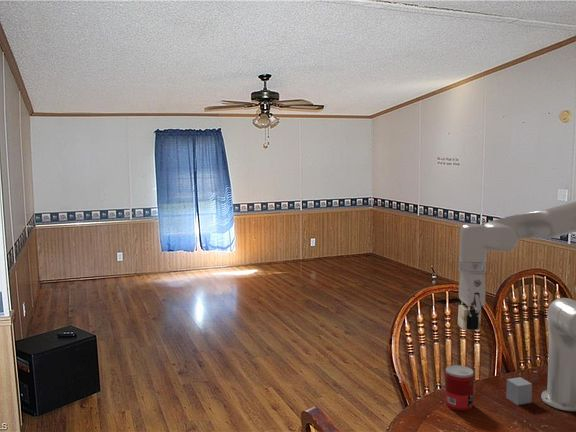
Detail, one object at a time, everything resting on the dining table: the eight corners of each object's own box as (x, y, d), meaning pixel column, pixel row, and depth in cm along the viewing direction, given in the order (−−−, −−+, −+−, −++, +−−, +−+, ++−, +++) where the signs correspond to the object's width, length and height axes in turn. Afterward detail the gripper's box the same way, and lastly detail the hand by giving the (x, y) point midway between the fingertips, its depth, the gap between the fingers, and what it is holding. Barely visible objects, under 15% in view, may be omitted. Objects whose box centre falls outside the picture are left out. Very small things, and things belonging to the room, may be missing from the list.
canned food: (474, 412, 153) (475, 376, 152) (446, 410, 154) (446, 374, 153) (471, 400, 160) (471, 365, 159) (444, 398, 162) (444, 364, 161)
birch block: (474, 324, 158) (475, 305, 158) (480, 330, 153) (481, 310, 153) (457, 324, 158) (458, 305, 157) (462, 329, 153) (464, 309, 153)
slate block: (519, 395, 163) (520, 377, 162) (531, 402, 158) (532, 383, 157) (506, 397, 161) (506, 379, 161) (517, 405, 157) (517, 386, 156)
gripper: (496, 272, 145) (492, 336, 147) (474, 260, 162) (471, 317, 164) (469, 272, 145) (465, 335, 147) (450, 260, 162) (447, 317, 164)
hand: (468, 325), depth 156 cm, fingers closed on birch block, 5 cm apart
